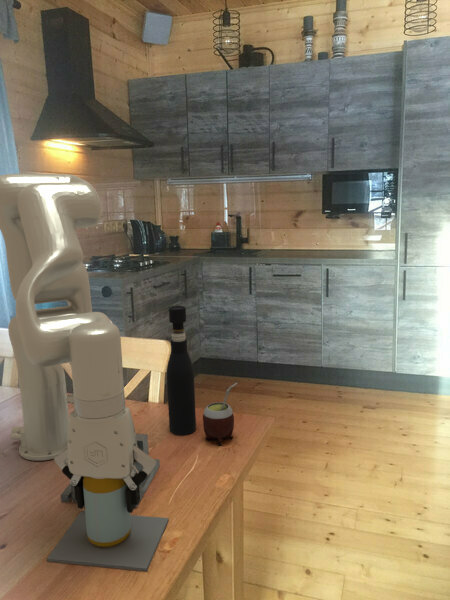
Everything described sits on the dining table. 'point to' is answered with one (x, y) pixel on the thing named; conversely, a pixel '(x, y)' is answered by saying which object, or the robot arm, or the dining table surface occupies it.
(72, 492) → the vise
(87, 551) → the mat
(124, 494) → the bottle
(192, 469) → the dining table surface
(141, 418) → the dining table surface
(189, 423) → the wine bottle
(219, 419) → the mate gourd
